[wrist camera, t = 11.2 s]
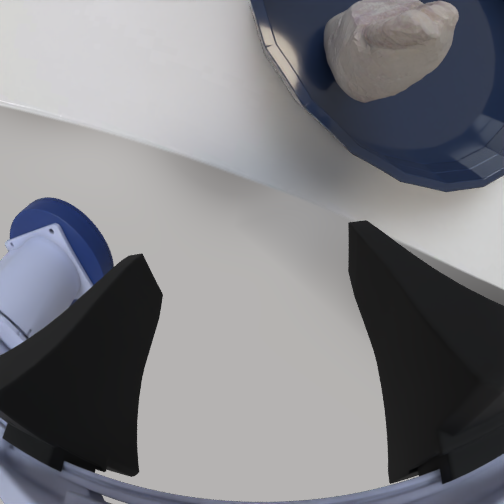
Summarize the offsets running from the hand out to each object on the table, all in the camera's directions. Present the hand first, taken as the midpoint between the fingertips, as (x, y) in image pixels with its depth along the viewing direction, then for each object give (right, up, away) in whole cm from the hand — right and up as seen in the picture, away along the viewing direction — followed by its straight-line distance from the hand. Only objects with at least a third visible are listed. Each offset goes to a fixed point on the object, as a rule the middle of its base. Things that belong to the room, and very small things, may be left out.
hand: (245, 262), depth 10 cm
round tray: (+11, +15, +1) cm, 19 cm away
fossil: (+6, +12, +3) cm, 14 cm away
